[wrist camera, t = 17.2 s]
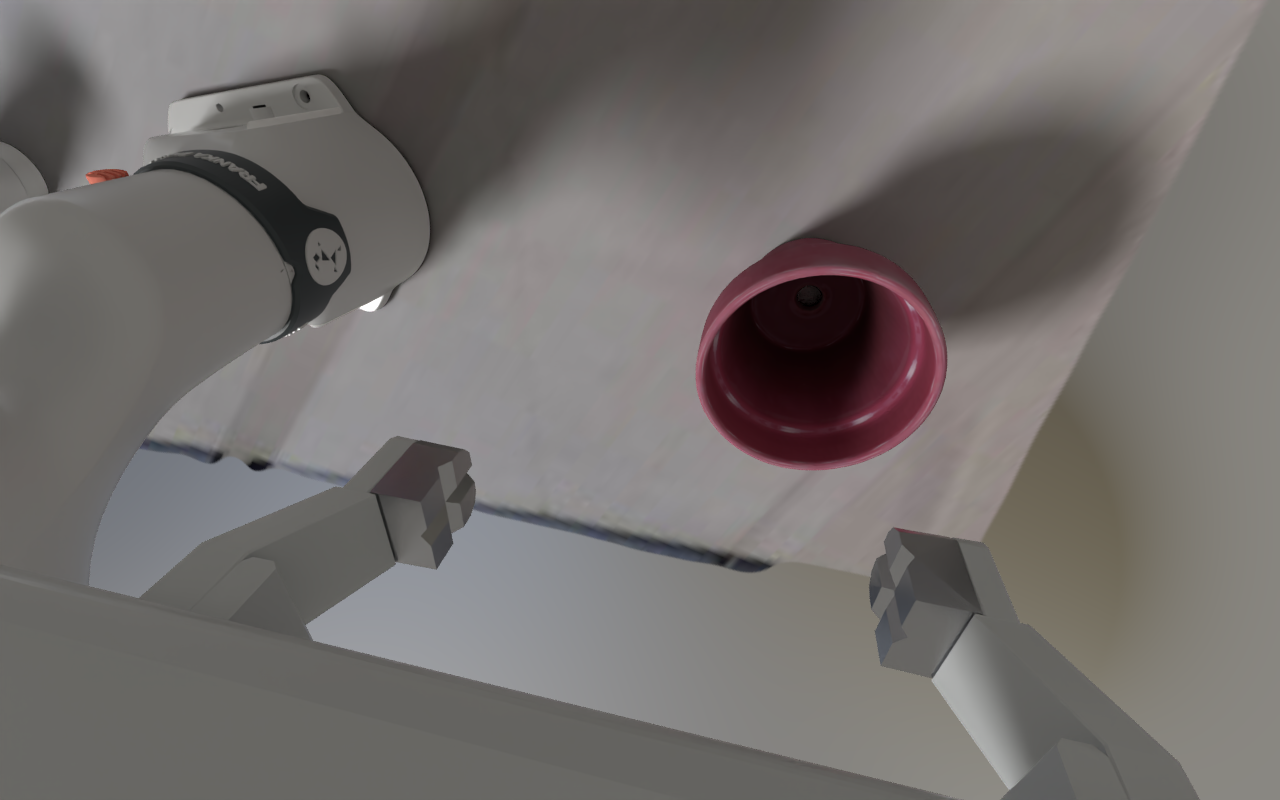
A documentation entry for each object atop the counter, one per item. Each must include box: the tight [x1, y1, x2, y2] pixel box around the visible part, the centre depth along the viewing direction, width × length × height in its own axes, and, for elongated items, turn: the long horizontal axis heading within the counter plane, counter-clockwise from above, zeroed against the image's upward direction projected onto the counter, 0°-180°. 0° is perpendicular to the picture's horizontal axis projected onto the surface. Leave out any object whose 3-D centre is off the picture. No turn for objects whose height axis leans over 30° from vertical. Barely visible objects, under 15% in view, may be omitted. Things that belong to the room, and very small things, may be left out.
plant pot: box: [696, 238, 947, 470], centre depth 38 cm, size 14×14×13 cm
